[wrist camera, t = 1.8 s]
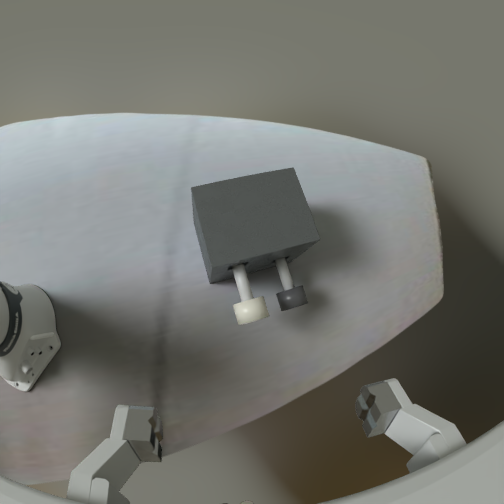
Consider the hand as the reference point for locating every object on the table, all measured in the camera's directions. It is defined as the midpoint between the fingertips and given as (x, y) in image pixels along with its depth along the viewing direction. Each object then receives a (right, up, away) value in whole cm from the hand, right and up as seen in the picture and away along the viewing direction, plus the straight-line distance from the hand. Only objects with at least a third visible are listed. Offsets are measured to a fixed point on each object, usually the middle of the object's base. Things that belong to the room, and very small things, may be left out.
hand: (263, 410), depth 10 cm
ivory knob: (-2, 0, +35) cm, 36 cm away
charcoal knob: (+5, +1, +42) cm, 42 cm away
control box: (-2, +8, +46) cm, 47 cm away
